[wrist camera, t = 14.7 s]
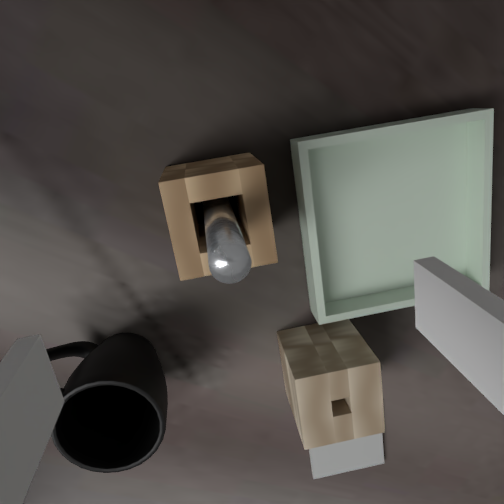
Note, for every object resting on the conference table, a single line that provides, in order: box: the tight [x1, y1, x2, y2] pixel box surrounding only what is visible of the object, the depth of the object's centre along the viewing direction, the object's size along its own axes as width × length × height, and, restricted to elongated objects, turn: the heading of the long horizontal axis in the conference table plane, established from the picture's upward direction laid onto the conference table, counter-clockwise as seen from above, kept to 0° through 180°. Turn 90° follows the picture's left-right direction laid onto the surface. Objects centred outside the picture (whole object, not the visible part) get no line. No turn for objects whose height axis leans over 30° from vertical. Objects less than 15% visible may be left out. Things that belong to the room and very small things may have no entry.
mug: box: [46, 333, 168, 473], centre depth 36 cm, size 8×12×10 cm
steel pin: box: [202, 197, 252, 284], centre depth 30 cm, size 2×2×16 cm
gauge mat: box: [309, 433, 384, 479], centre depth 47 cm, size 8×8×1 cm
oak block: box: [158, 153, 278, 281], centre depth 34 cm, size 7×7×8 cm
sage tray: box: [290, 108, 494, 325], centre depth 39 cm, size 16×16×3 cm
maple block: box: [277, 319, 385, 450], centre depth 40 cm, size 7×7×8 cm
